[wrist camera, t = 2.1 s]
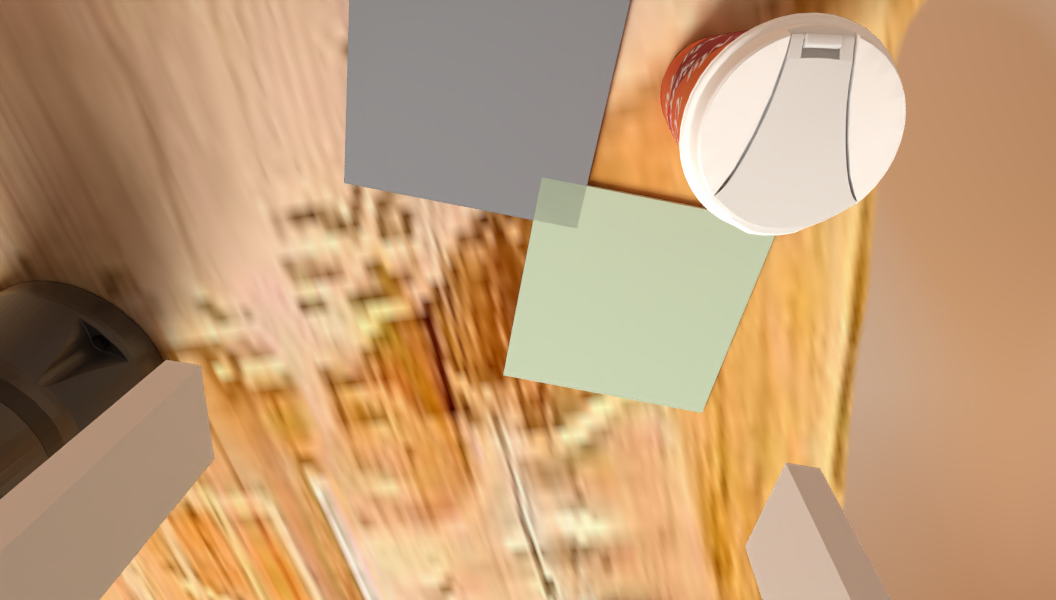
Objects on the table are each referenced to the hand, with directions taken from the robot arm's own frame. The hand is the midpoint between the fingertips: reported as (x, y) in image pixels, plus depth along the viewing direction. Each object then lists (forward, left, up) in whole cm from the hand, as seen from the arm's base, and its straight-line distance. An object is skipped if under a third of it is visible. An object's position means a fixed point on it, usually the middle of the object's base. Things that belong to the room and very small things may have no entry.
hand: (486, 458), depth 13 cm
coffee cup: (+9, +7, -27) cm, 29 cm away
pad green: (+8, -8, -27) cm, 29 cm away
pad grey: (-5, +5, -27) cm, 28 cm away
